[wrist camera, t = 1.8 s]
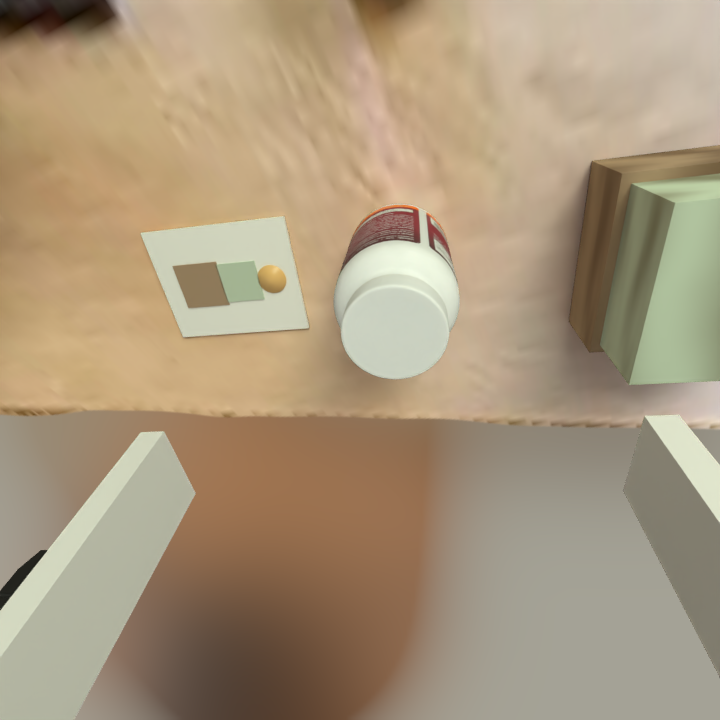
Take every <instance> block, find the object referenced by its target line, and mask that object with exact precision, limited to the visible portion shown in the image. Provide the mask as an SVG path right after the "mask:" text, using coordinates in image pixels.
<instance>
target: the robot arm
mask: <svg viewBox="0 0 720 720" xmlns="http://www.w3.org/2000/svg"><path fill="white" fill-rule="evenodd" d="M623 492H624V494H625V495H626V498H627V499H628V501H629V503H630V505H631V507H632V509H633V511H634V513H635V515H636V517H637V519H638V521H639V523H640V524H641V526H642V528H643V530H644V532H645V534H646V536H647V538H648V540H649V542H650V544H651V546H652V548H653V550H654V551H655V553H656V555H657V557H658V559H659V561H660V563H661V565H662V567H663V569H664V571H665V572H666V575H667V576H668V578H669V580H670V582H671V584H672V586H673V588H674V590H675V592H676V594H677V596H678V598H679V600H680V602H681V603H682V605H683V607H684V609H685V611H686V613H687V615H688V617H689V619H690V621H691V623H692V625H693V627H694V629H695V630H696V632H697V634H698V636H699V638H700V640H701V642H702V644H703V646H704V648H705V650H706V651H707V654H708V656H709V657H710V659H711V661H712V663H713V665H714V667H715V669H716V671H717V673H718V675H719V677H720V465H719V464H718V463H717V462H716V460H715V459H714V458H713V456H712V455H711V454H710V453H709V452H708V450H707V449H706V448H705V447H704V445H703V444H702V443H701V442H700V440H699V439H698V438H697V437H696V435H695V434H694V433H693V432H692V431H691V429H690V428H689V427H688V426H687V424H686V423H685V422H684V421H683V419H682V418H681V417H680V416H679V415H659V416H644V420H643V423H642V427H641V431H640V434H639V437H638V441H637V444H636V448H635V451H634V455H633V458H632V461H631V466H630V469H629V472H628V476H627V479H626V482H625V486H624V489H623ZM194 495H195V491H194V489H193V488H192V486H191V483H190V482H189V480H188V478H187V476H186V474H185V472H184V470H183V468H182V466H181V464H180V462H179V460H178V458H177V456H176V454H175V452H174V450H173V448H172V446H171V444H170V442H169V440H168V438H167V436H166V434H165V433H164V432H141V433H140V434H139V435H138V437H137V438H136V439H135V440H134V442H133V443H132V444H131V446H130V447H129V448H128V449H127V451H126V452H125V453H124V454H123V456H122V457H121V458H120V460H119V461H118V462H117V463H116V465H115V466H114V467H113V468H112V470H111V471H110V472H109V473H108V475H107V476H106V477H105V479H104V480H103V481H102V482H101V484H100V485H99V486H98V487H97V489H96V490H95V491H94V493H93V494H92V495H91V496H90V497H89V499H88V500H87V501H86V503H85V504H84V505H83V506H82V508H81V509H80V510H79V511H78V513H77V514H76V515H75V517H74V518H73V519H72V520H71V522H70V523H69V524H68V525H67V527H66V528H65V529H64V530H63V532H62V533H61V535H60V536H59V537H58V538H57V539H56V541H55V542H54V543H53V544H52V546H51V547H50V548H49V549H48V550H41V551H39V552H38V553H37V554H36V555H35V556H33V557H32V558H31V559H30V560H29V561H27V562H26V563H25V564H24V565H23V566H22V567H20V568H19V569H18V570H17V571H16V573H15V574H14V575H13V576H12V577H11V579H10V580H9V581H8V582H7V583H6V585H5V586H4V587H3V588H2V589H1V591H0V720H74V719H75V717H76V715H77V713H78V711H79V710H80V708H81V706H82V704H83V702H84V700H85V699H86V697H87V695H88V693H89V691H90V689H91V687H92V685H93V684H94V682H95V680H96V678H97V676H98V674H99V672H100V671H101V669H102V667H103V665H104V663H105V661H106V659H107V657H108V656H109V654H110V652H111V650H112V648H113V646H114V644H115V643H116V641H117V639H118V637H119V635H120V633H121V631H122V629H123V628H124V626H125V624H126V622H127V620H128V618H129V617H130V614H131V613H132V611H133V609H134V607H135V605H136V603H137V601H138V600H139V598H140V596H141V594H142V592H143V590H144V589H145V587H146V585H147V583H148V581H149V579H150V577H151V576H152V573H153V572H154V570H155V568H156V566H157V564H158V562H159V561H160V559H161V557H162V555H163V553H164V551H165V549H166V548H167V546H168V544H169V542H170V540H171V538H172V536H173V534H174V533H175V531H176V529H177V527H178V525H179V523H180V521H181V520H182V518H183V516H184V514H185V512H186V510H187V508H188V507H189V505H190V503H191V501H192V499H193V497H194Z"/></svg>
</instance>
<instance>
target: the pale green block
mask: <svg viewBox="0 0 720 720" xmlns="http://www.w3.org/2000/svg"><path fill="white" fill-rule="evenodd" d="M569 322H570V324H571V325H572V327H573V328H574V330H575V331H576V333H577V334H578V336H579V337H580V339H581V340H582V342H583V343H584V345H585V346H586V348H587V349H588V351H589V352H605V353H606V354H607V355H608V357H609V358H610V359H611V361H612V362H613V364H614V365H615V366H616V368H617V369H618V370H619V372H620V373H621V375H622V376H623V377H624V379H625V380H626V382H627V383H628V384H629V385H639V384H662V383H685V382H707V381H720V145H718V146H709V147H701V148H693V149H685V150H677V151H669V152H661V153H653V154H645V155H637V156H629V157H620V158H612V159H604V160H596V161H592V165H591V172H590V179H589V186H588V193H587V199H586V206H585V213H584V220H583V227H582V234H581V241H580V247H579V254H578V261H577V268H576V275H575V282H574V289H573V296H572V302H571V309H570V316H569Z"/></svg>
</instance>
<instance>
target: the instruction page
mask: <svg viewBox="0 0 720 720" xmlns="http://www.w3.org/2000/svg"><path fill="white" fill-rule="evenodd" d="M140 234H141V236H142V239H143V241H144V243H145V246H146V248H147V251H148V253H149V255H150V258H151V260H152V263H153V265H154V268H155V270H156V272H157V275H158V277H159V280H160V282H161V285H162V287H163V289H164V292H165V294H166V297H167V299H168V302H169V304H170V306H171V309H172V311H173V314H174V316H175V318H176V321H177V323H178V326H179V328H180V331H181V333H182V335H183V337H194V336H208V335H221V334H235V333H249V332H263V331H277V330H291V329H305V328H309V322H308V318H307V313H306V309H305V304H304V300H303V296H302V291H301V287H300V282H299V278H298V273H297V269H296V264H295V260H294V256H293V251H292V247H291V242H290V238H289V233H288V229H287V224H286V220H285V216H279V217H271V218H262V219H254V220H245V221H237V222H228V223H220V224H211V225H202V226H194V227H185V228H177V229H168V230H160V231H151V232H143V233H140Z"/></svg>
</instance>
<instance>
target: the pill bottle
mask: <svg viewBox="0 0 720 720" xmlns="http://www.w3.org/2000/svg"><path fill="white" fill-rule="evenodd" d="M459 303H460V297H459V289H458V283H457V279H456V275H455V271H454V267H453V263H452V259H451V255H450V251H449V247H448V243H447V239H446V236H445V233H444V231H443V229H442V227H441V226H440V224H439V223H438V221H437V220H436V219H435V218H434V217H433V216H432V215H431V214H429V213H428V212H427V211H425V210H423V209H421V208H419V207H417V206H414V205H409V204H390V205H386V206H383V207H380V208H378V209H376V210H374V211H373V212H371V213H370V214H369V215H367V216H366V217H365V218H364V219H363V220H362V221H361V223H360V224H359V225H358V227H357V229H356V231H355V232H354V235H353V237H352V240H351V243H350V246H349V248H348V251H347V254H346V257H345V260H344V263H343V266H342V269H341V272H340V274H339V277H338V280H337V284H336V288H335V293H334V311H335V315H336V319H337V321H338V324H339V326H340V328H341V339H342V343H343V346H344V349H345V351H346V353H347V354H348V356H349V357H350V359H351V360H352V361H353V362H354V363H355V364H356V365H357V366H358V367H360V368H361V369H362V370H364V371H366V372H367V373H369V374H372V375H374V376H377V377H380V378H385V379H405V378H410V377H414V376H417V375H419V374H421V373H423V372H425V371H427V370H428V369H430V368H431V367H432V366H433V365H435V364H436V363H437V361H438V360H439V359H440V358H441V356H442V355H443V353H444V351H445V349H446V347H447V343H448V338H449V332H450V331H451V329H452V328H453V326H454V324H455V321H456V319H457V315H458V311H459Z"/></svg>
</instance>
